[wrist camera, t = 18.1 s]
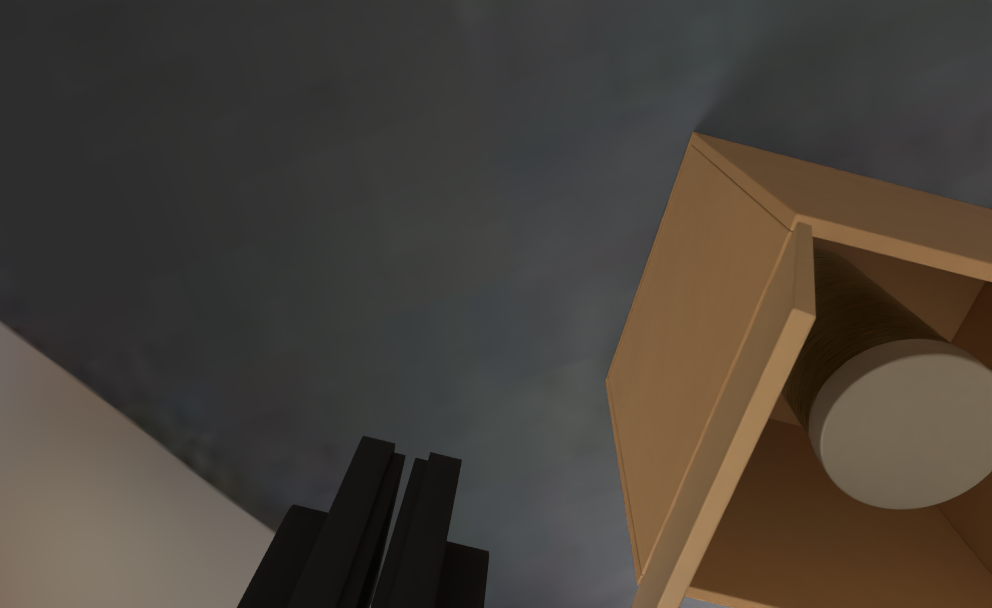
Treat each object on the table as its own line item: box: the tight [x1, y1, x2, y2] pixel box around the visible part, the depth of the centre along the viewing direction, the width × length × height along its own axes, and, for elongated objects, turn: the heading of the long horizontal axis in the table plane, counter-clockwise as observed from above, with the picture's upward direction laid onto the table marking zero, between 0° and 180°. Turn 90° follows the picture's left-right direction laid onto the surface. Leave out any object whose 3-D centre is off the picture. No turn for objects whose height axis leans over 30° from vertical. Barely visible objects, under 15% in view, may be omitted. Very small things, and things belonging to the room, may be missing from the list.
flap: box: [631, 222, 816, 608], centre depth 13 cm, size 6×11×1 cm
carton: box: [605, 132, 992, 608], centre depth 22 cm, size 13×11×11 cm
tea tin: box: [781, 250, 992, 510], centre depth 23 cm, size 5×5×9 cm
